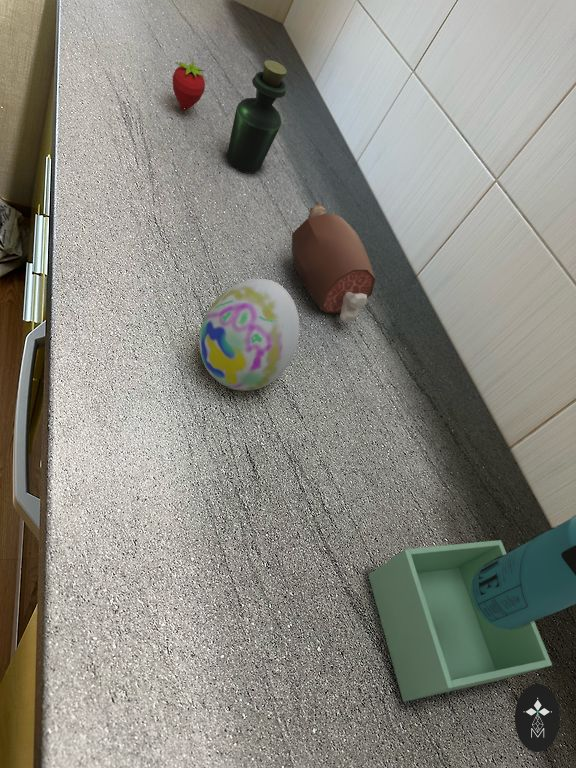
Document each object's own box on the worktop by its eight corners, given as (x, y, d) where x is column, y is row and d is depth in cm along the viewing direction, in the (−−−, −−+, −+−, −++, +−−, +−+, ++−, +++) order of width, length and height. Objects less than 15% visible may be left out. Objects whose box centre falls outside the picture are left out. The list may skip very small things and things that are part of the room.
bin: (458, 564, 72) (501, 539, 65) (500, 679, 65) (552, 665, 58) (368, 574, 66) (404, 549, 60) (402, 702, 59) (448, 688, 53)
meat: (372, 332, 91) (404, 288, 84) (310, 335, 86) (338, 288, 78) (326, 243, 101) (351, 196, 93) (268, 241, 95) (289, 191, 87)
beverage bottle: (521, 639, 57) (699, 575, 42) (464, 632, 55) (629, 563, 40) (507, 573, 61) (665, 494, 46) (453, 565, 59) (599, 480, 44)
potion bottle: (264, 156, 109) (298, 64, 96) (264, 181, 105) (300, 88, 91) (222, 143, 107) (251, 46, 94) (221, 168, 102) (251, 70, 89)
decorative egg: (171, 353, 75) (198, 272, 63) (235, 318, 82) (269, 239, 71) (235, 419, 72) (275, 346, 61) (295, 376, 80) (340, 304, 69)
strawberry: (169, 118, 105) (180, 65, 98) (165, 95, 109) (175, 42, 102) (200, 125, 108) (213, 73, 100) (195, 102, 112) (207, 51, 104)
